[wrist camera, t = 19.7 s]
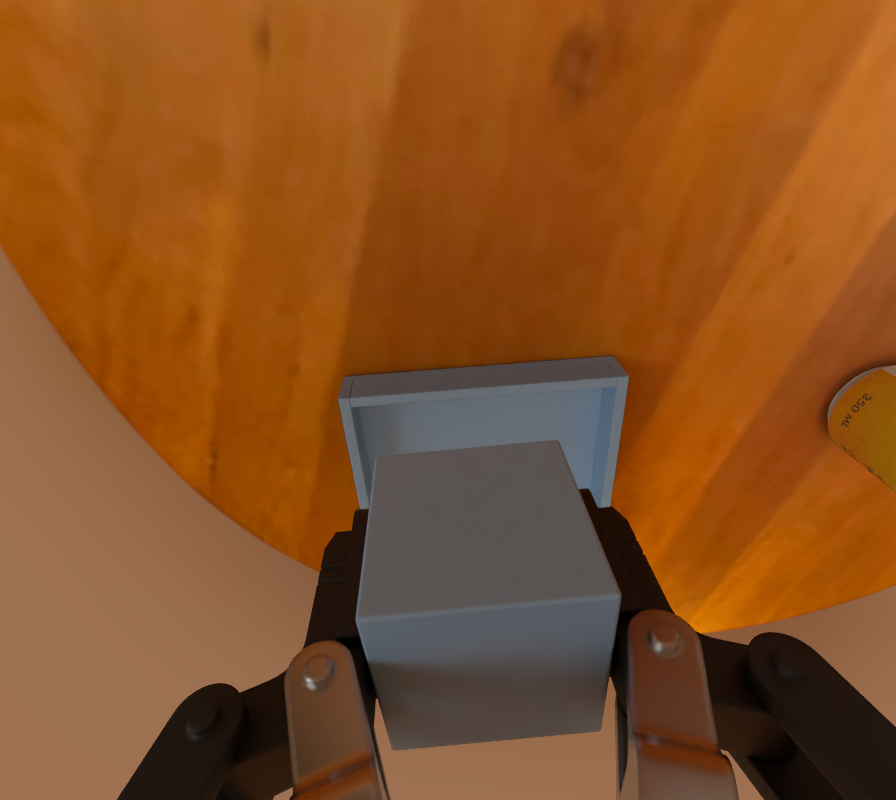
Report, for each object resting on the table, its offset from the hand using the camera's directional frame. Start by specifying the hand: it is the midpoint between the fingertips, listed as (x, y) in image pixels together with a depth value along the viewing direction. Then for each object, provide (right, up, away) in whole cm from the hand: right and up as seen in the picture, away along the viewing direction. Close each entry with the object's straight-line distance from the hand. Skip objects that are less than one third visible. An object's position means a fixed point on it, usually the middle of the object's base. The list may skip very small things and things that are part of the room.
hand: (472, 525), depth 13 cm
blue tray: (+2, 0, +18) cm, 18 cm away
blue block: (0, 0, 0) cm, 0 cm away
